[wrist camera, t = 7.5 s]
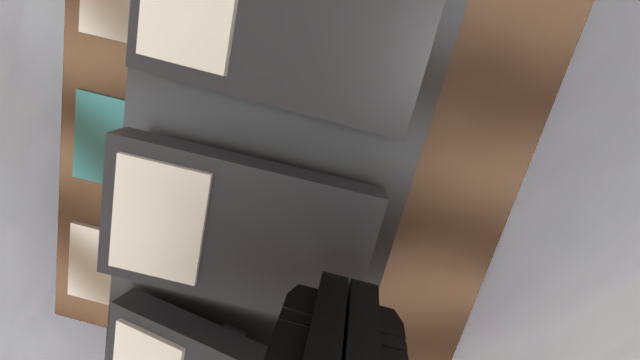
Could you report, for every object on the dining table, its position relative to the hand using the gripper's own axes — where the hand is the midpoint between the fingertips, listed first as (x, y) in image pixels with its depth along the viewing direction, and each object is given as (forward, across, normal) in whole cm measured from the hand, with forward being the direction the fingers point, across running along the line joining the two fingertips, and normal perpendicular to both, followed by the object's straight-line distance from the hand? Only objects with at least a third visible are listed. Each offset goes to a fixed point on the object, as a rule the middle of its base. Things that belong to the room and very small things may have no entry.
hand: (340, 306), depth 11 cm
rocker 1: (+4, +3, -7) cm, 9 cm away
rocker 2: (+4, +4, 0) cm, 6 cm away
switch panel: (+10, +4, 0) cm, 11 cm away
